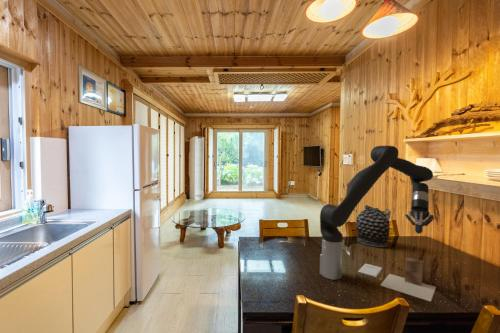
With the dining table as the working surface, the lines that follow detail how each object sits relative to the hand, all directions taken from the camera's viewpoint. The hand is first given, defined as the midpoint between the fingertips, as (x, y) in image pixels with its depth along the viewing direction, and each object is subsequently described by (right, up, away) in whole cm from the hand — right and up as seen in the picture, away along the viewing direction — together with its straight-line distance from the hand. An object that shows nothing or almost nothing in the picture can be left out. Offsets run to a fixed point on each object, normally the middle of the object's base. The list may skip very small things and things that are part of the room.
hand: (418, 232), depth 125 cm
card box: (-11, -19, -13) cm, 25 cm away
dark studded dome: (-4, -18, +39) cm, 43 cm away
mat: (-15, -19, -16) cm, 29 cm away
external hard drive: (-24, -19, -1) cm, 31 cm away
